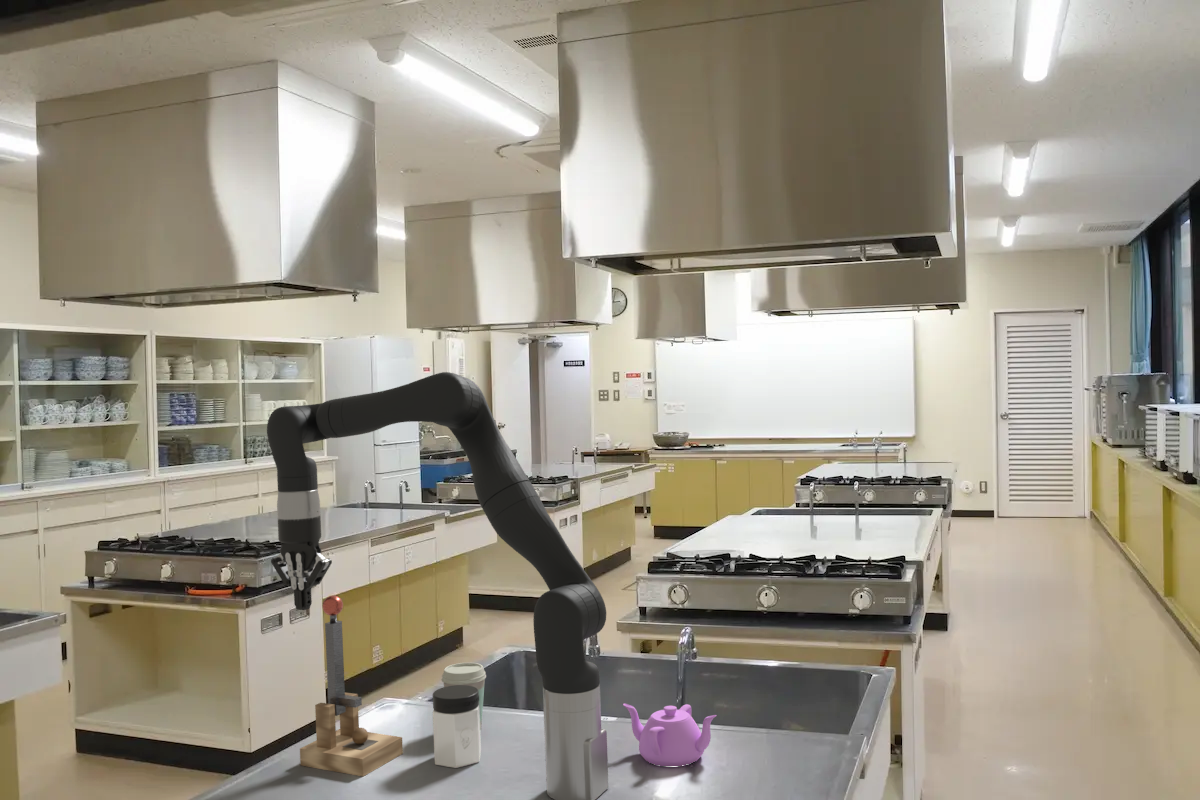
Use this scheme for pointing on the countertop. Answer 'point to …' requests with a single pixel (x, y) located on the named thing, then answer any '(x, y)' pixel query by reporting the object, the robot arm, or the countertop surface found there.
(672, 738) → the teapot
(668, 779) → the countertop surface
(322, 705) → the cracker base
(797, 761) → the countertop surface
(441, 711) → the jar
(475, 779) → the countertop surface
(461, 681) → the coffee cup
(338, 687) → the lever
